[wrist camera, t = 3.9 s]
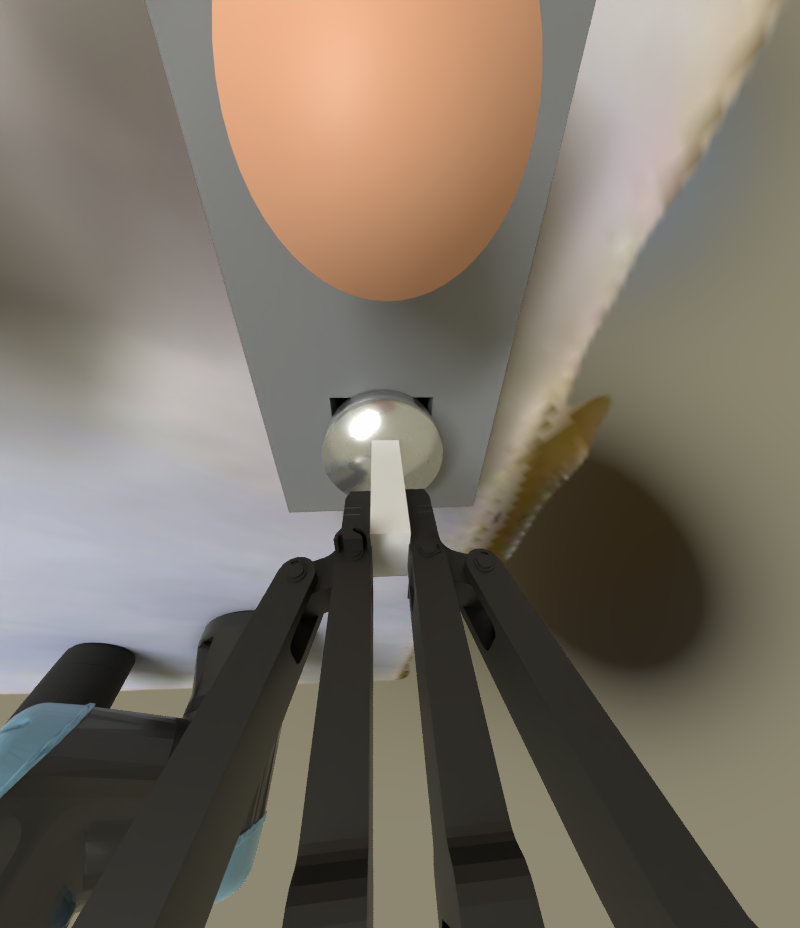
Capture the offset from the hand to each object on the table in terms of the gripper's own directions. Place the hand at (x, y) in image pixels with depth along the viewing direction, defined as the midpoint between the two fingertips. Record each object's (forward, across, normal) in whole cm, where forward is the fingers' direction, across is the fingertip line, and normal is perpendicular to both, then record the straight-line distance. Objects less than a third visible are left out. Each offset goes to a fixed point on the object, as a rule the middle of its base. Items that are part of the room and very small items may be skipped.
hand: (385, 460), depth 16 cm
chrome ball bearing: (+7, 0, 0) cm, 7 cm away
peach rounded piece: (+3, 0, -12) cm, 12 cm away
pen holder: (+8, +43, +41) cm, 60 cm away
